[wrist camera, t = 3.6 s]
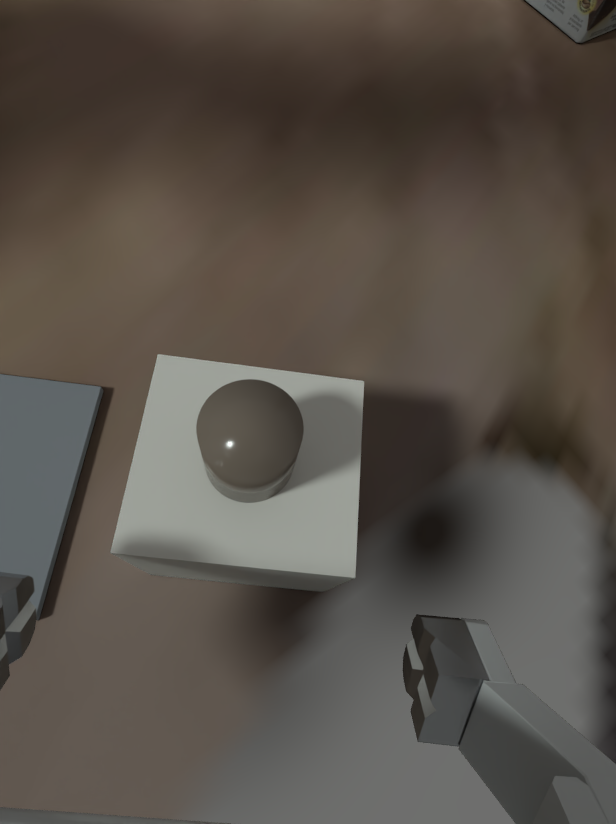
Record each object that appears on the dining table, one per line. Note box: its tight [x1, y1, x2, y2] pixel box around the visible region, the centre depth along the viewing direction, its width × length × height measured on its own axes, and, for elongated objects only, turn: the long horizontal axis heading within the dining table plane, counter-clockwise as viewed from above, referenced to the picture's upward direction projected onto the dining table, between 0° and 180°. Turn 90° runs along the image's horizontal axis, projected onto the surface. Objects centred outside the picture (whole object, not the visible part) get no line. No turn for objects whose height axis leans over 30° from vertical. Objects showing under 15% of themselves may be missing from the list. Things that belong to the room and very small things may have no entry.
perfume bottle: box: [110, 354, 364, 592], centre depth 16 cm, size 6×6×8 cm
